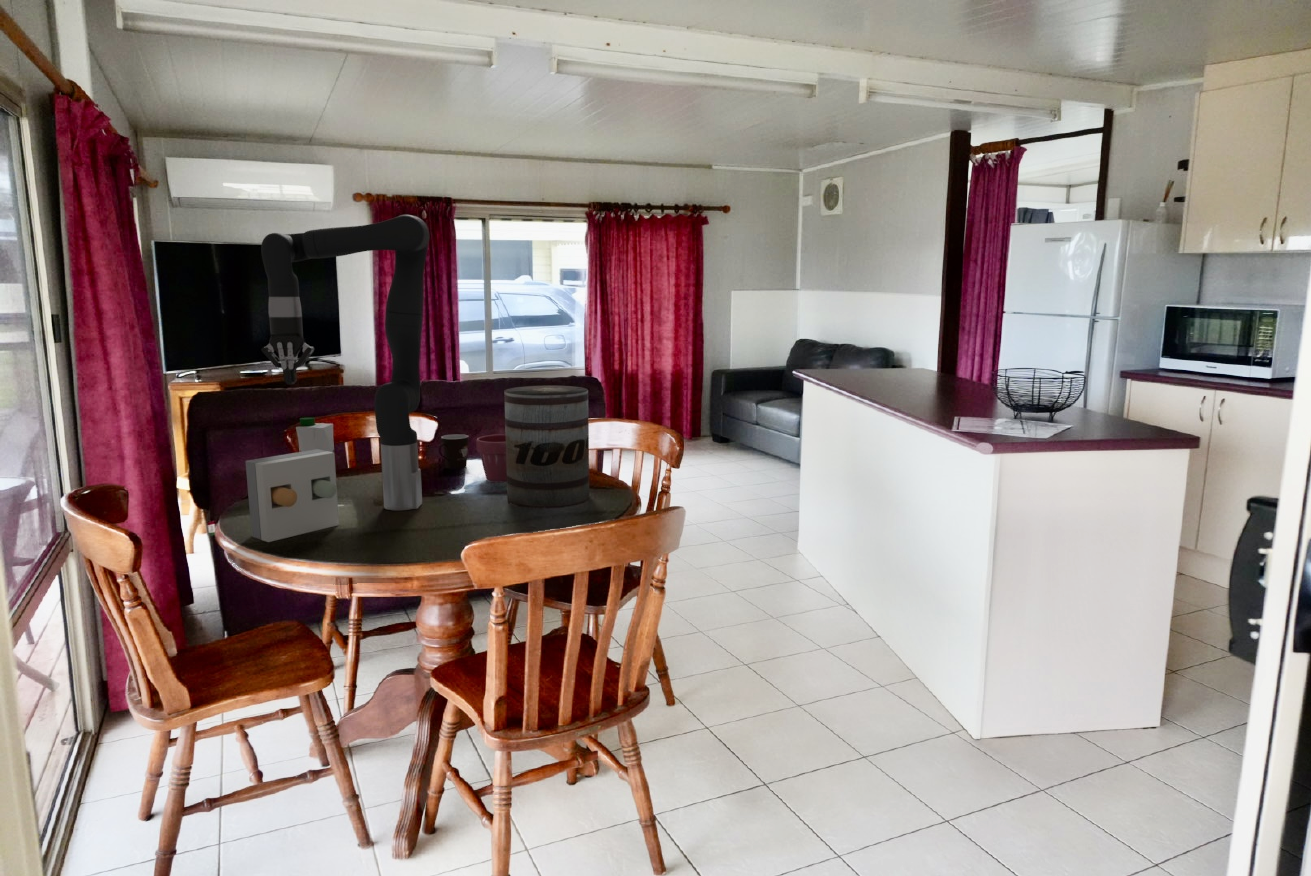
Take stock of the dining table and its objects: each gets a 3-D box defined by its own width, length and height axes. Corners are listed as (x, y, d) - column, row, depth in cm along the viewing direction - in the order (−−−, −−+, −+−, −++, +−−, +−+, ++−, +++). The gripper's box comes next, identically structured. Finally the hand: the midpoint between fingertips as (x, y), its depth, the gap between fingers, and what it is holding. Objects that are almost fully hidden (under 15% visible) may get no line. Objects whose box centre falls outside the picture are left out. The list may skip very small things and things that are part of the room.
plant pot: (470, 477, 260) (469, 436, 258) (513, 472, 267) (512, 432, 265) (488, 486, 248) (487, 443, 246) (532, 480, 256) (531, 439, 253)
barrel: (546, 513, 219) (543, 397, 214) (490, 499, 234) (486, 390, 228) (606, 497, 236) (605, 389, 231) (550, 484, 251) (548, 383, 245)
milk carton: (310, 482, 253) (305, 415, 249) (340, 482, 252) (336, 416, 249) (297, 489, 244) (292, 420, 241) (328, 489, 244) (323, 420, 240)
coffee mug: (462, 463, 280) (461, 433, 279) (474, 467, 274) (473, 437, 272) (429, 467, 273) (427, 437, 271) (441, 472, 267) (439, 441, 265)
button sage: (336, 496, 203) (335, 480, 202) (321, 499, 200) (320, 483, 199) (322, 492, 207) (321, 476, 206) (307, 496, 203) (306, 479, 203)
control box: (338, 524, 208) (334, 452, 205) (268, 542, 194) (262, 464, 191) (322, 519, 212) (317, 449, 209) (251, 536, 198) (245, 460, 195)
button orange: (297, 504, 195) (296, 488, 194) (281, 508, 192) (280, 491, 191) (283, 501, 199) (282, 484, 198) (267, 504, 196) (266, 487, 195)
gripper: (317, 314, 217) (322, 382, 220) (264, 314, 216) (269, 382, 219) (307, 315, 210) (311, 385, 213) (252, 315, 209) (258, 385, 212)
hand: (290, 383), depth 216 cm, fingers closed
